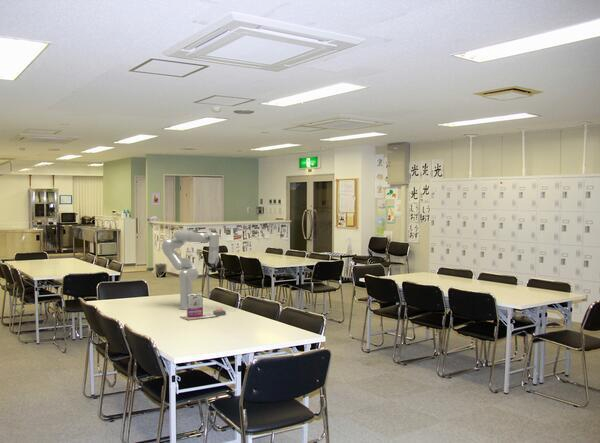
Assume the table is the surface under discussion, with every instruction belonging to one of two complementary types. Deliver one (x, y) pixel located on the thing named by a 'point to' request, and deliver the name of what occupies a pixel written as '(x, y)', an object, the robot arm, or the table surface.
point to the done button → (219, 309)
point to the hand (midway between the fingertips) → (213, 272)
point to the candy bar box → (194, 305)
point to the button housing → (219, 313)
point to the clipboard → (206, 315)
